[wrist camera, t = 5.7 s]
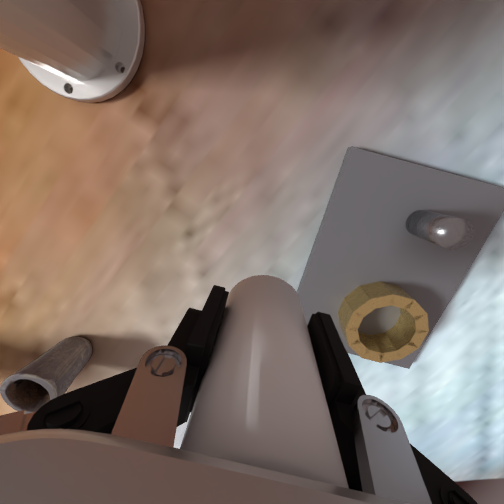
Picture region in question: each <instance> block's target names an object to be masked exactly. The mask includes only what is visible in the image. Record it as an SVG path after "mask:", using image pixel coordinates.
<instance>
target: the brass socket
mask: <svg viewBox="0 0 504 504" xmlns="http://www.w3.org/2000/svg"><path fill="white" fill-rule="evenodd" d="M386 306H395V307H399V308H400V313H401V315H400V317H399V319H398V321H397V323H396V324H395V326H393V327H392V328H390V329H389V330H388V331H386V332H385V333H380V334H375V335H368V334H364V333H360V332H358V328H359V326H360V323H361V321H362V319H363V317H365V316H366V315H367V314H369V313H370V312H372V311H373V310H374V309H376V308H381V307H386ZM338 317H339V322H340V327H341V330H342V332H343V334H344V337H345V339H346V341H347V343H348V345H349V346H350V347H351V348H352V349H353V350H354V351H355V352H356V353H357V354H358V355H359V356H360V357H361V358H364V359H368V360H372V361H376V362H387V361H394V360H400V359H402V358H404V357H406V356H407V355H409V354H410V353H412V352H414V351H415V350H417V349H418V348H419V347H420V345H421V344H422V342H423V340H424V339H425V337H426V335H427V334H428V331H429V328H428V314H427V313H426V312H425V311H424V309H423V308H422V307H421V306H420V305H419V304H418V303H417V302H416V301H415V300H414V299H413V298H412V297H411V296H410V295H408V294H407V293H406V292H405V291H404V290H403V289H401V288H400V287H399V286H397V285H393V284H389V283H385V282H381V281H378V282H374V283H369V284H364V285H360V286H358V287H357V288H356V289H355V290H353V291H352V292H351V293H349V294H348V295H347V296H345V297H344V299H343V302H342V304H341V306H340V309H339V311H338Z"/></svg>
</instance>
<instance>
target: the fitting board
mask: <svg viewBox="0 0 504 504" xmlns="http://www.w3.org/2000/svg"><path fill="white" fill-rule="evenodd" d="M417 210H427V211H432V212H436V213H440V214H445V215H449V216H453V217H457V218H462V219H466V220H468V221H470V222H471V223H472V225H473V227H474V235H473V238H472V239H471V241H470V242H469V243H468V244H467V245H466V246H464V247H463V248H461V249H458V250H448V249H445V248H443V247H440V246H438V245H436V244H433V243H431V242H429V241H426V240H424V239H422V238H419V237H417V236H415V235H412V234H410V233H409V232H408V231H407V229H406V220H407V218H408V217H409V215H410V214H412V213H413V212H415V211H417ZM503 211H504V188H503V187H499V186H496V185H492V184H488V183H485V182H481V181H477V180H473V179H470V178H466V177H462V176H459V175H455V174H451V173H448V172H444V171H440V170H437V169H433V168H429V167H425V166H422V165H418V164H414V163H411V162H407V161H403V160H400V159H396V158H392V157H388V156H385V155H381V154H377V153H374V152H370V151H366V150H363V149H359V148H355V147H349V148H348V149H347V152H346V155H345V157H344V160H343V163H342V166H341V169H340V172H339V174H338V177H337V180H336V183H335V186H334V189H333V191H332V194H331V197H330V200H329V203H328V205H327V208H326V211H325V214H324V217H323V220H322V222H321V225H320V228H319V231H318V234H317V237H316V239H315V242H314V245H313V248H312V251H311V254H310V256H309V259H308V262H307V265H306V268H305V270H304V273H303V276H302V279H301V282H300V285H299V287H298V290H297V294H298V296H299V298H300V301H301V304H302V308H303V312H304V316H305V320H306V324H307V325H308V323H309V320H310V318H311V315H312V314H316V313H317V312H322V313H326V314H329V315H330V316H331V318H332V320H333V322H334V325H335V327H336V329H337V331H338V334H339V336H340V338H341V341H342V343H343V345H344V347H345V349H346V351H347V353H350V354H354V355H358V354H357V353H356V352H355V351H354V350H353V349H352V348H351V347H350V346H349V345H348V343H347V341H346V339H345V337H344V334H343V332H342V330H341V327H340V322H339V317H338V311H339V309H340V306H341V304H342V302H343V299H344V297H345V296H347V295H348V294H349V293H351V292H352V291H353V290H355V289H356V288H357V287H358V286H360V285H364V284H369V283H374V282H378V281H381V282H385V283H389V284H393V285H397V286H399V287H400V288H401V289H403V290H404V291H405V292H406V293H407V294H408V295H410V296H411V297H412V298H413V299H414V300H415V301H416V302H417V303H418V304H419V305H420V306H421V307H422V308H423V309H424V311H425V312H426V313H427V314H428V328H429V331H428V334H427V335H426V337H425V339H424V340H423V342H422V344H421V345H420V347H419V348H418V349H417V350H415V351H414V352H412V353H410V354H409V355H407V356H406V357H404V358H402V359H400V360H394V361H387V362H385V363H389V364H393V365H397V366H400V367H404V368H408V369H409V368H410V366H411V365H412V363H413V361H414V360H415V358H416V356H417V355H418V353H419V351H420V350H421V348H422V346H423V345H424V343H425V341H426V340H427V338H428V336H429V335H430V333H431V331H432V330H433V328H434V326H435V325H436V323H437V321H438V320H439V318H440V316H441V315H442V313H443V311H444V310H445V308H446V306H447V305H448V303H449V301H450V300H451V298H452V296H453V295H454V293H455V291H456V290H457V288H458V286H459V285H460V283H461V281H462V280H463V278H464V276H465V275H466V273H467V271H468V270H469V268H470V266H471V265H472V263H473V261H474V260H475V258H476V256H477V255H478V253H479V251H480V250H481V248H482V246H483V245H484V243H485V241H486V239H487V238H488V236H489V234H490V233H491V231H492V229H493V228H494V226H495V224H496V223H497V221H498V219H499V218H500V216H501V214H502V213H503ZM400 315H401V313H400V308H399V307H395V306H386V307H381V308H376V309H374V310H373V311H372V312H370V313H369V314H367V315H366V316H365V317H363V319H362V321H361V323H360V326H359V328H358V332H360V333H364V334H368V335H375V334H380V333H385V332H386V331H388V330H389V329H390V328H392V327H393V326H395V324H396V323H397V321H398V319H399V317H400ZM358 356H359V355H358Z"/></svg>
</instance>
